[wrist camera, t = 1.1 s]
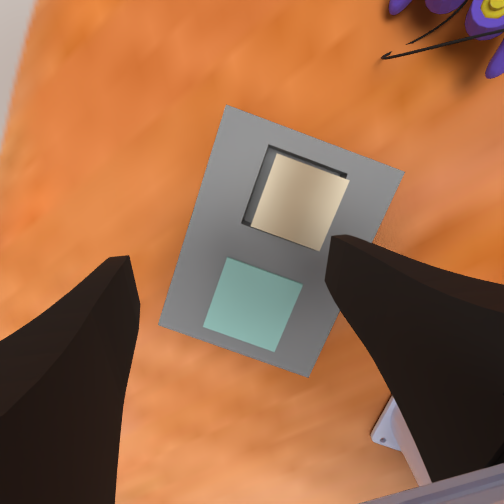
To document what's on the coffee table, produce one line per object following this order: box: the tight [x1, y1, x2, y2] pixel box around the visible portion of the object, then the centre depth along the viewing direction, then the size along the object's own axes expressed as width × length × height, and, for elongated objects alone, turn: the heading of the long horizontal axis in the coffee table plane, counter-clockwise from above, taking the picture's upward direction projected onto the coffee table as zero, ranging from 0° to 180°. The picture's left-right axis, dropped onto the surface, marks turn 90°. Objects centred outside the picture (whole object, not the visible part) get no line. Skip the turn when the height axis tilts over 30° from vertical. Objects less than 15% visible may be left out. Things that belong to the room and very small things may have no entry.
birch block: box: [251, 153, 350, 251], centre depth 19 cm, size 4×4×6 cm
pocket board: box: [158, 105, 405, 378], centre depth 22 cm, size 12×16×3 cm
